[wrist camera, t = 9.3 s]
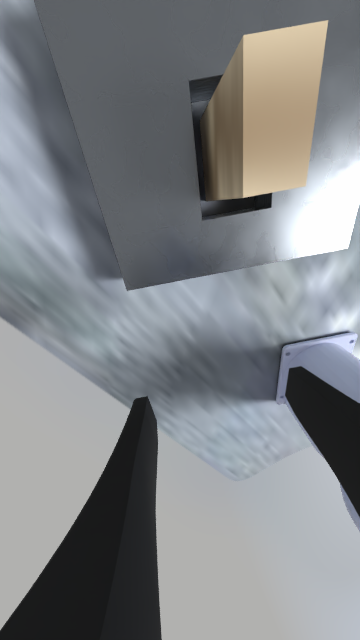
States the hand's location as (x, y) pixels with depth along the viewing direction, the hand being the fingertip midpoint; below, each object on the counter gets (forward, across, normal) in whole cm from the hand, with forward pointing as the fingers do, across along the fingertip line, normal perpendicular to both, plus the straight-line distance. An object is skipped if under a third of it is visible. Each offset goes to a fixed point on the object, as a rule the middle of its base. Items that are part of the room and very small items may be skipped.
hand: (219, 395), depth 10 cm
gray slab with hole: (+9, -4, -10) cm, 15 cm away
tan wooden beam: (+9, -4, -11) cm, 15 cm away
